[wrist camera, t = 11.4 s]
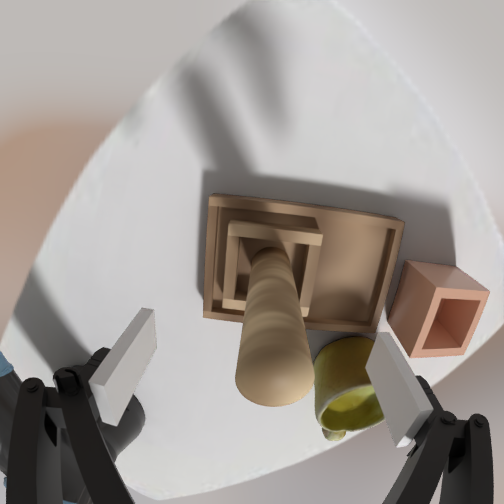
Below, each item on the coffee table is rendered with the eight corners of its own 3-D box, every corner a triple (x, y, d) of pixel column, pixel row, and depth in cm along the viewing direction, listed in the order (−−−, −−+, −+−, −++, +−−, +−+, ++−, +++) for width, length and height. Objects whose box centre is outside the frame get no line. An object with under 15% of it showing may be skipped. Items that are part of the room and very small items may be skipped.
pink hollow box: (387, 321, 30) (409, 357, 24) (405, 259, 28) (436, 287, 21) (437, 322, 30) (463, 355, 24) (456, 266, 28) (490, 291, 21)
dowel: (249, 280, 28) (232, 403, 13) (253, 244, 27) (238, 345, 12) (287, 284, 28) (305, 408, 13) (292, 248, 27) (322, 352, 12)
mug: (330, 316, 28) (366, 402, 20) (391, 328, 32) (426, 394, 24) (272, 379, 34) (289, 451, 26) (334, 382, 38) (355, 442, 30)
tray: (207, 307, 31) (200, 322, 28) (213, 193, 27) (206, 198, 24) (369, 322, 31) (377, 338, 28) (396, 217, 27) (409, 224, 24)
